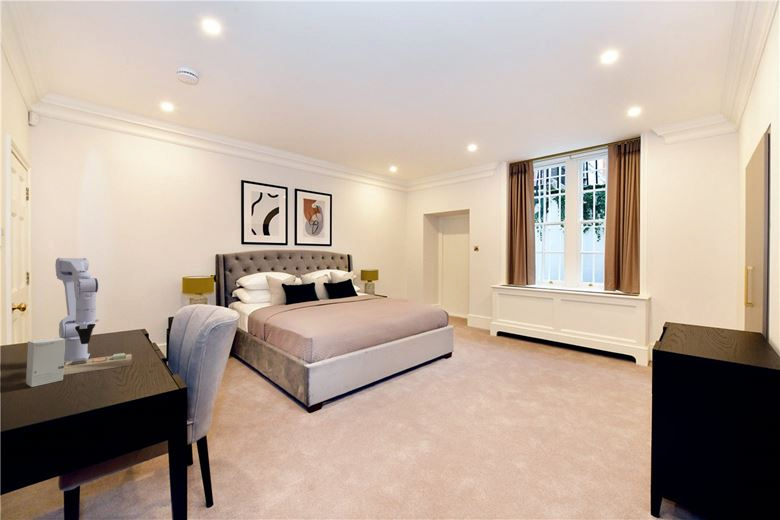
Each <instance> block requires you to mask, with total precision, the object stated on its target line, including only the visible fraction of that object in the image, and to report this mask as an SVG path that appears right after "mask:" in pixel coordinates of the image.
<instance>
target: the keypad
mask: <svg viewBox="0 0 780 520" xmlns="http://www.w3.org/2000/svg"><path fill="white" fill-rule="evenodd" d="M100 358H106V361H102V362H94V363H93V360H94V359H100ZM129 366H132V353H125V359H117V360H113V355H110V356H109V355H108V356H101V357H95V358H88V359H86V364H79V365H72V361H68V362H66V363H64V372H63V376H65V375H66V376H67V375H72V374H73V375H74V374H79V373H87V372H94V371H100V370H107V369H116V368H122V367H129Z"/></svg>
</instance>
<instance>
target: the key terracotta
mask: <svg viewBox="0 0 780 520" xmlns="http://www.w3.org/2000/svg"><path fill="white" fill-rule="evenodd" d="M99 358H100V357H99ZM102 361H106V358H100V359H94V360H93V363H94V362H102Z"/></svg>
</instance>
